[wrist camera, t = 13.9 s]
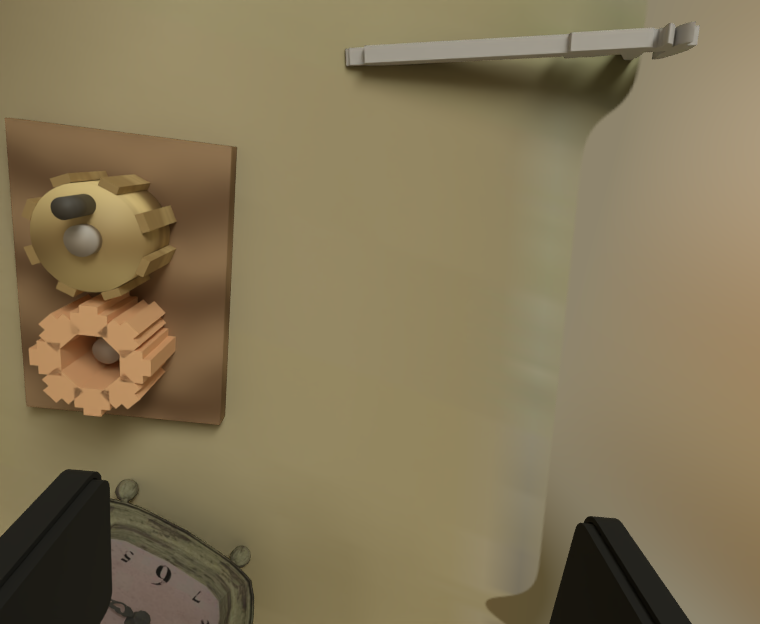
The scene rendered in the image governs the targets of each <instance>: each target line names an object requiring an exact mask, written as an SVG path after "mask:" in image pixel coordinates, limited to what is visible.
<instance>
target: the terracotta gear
mask: <svg viewBox="0 0 760 624" xmlns="http://www.w3.org/2000/svg"><path fill="white" fill-rule="evenodd" d="M164 314H165V312H164V311H163V310H162V309H161V308H160V307H159V306H158V304H157V303H156V302H155V301H154V302H152V303H151V304H149V305H148V304H147V303H146V302H145V301H144V300H142V301H140V302H139V303H138V297H136V296H130V294H129V292H127V293H125V294H123V295H122V296H119V297H115V298H111V299H108V300H104V299H103V297H102V294H99V295H97V296H95V297H93V298H92V297H91V296H90V295H89V294H88V295H86V296H84V297H82V298H80V299H78V300H76V301H74V302H72V303H70V304H68V305H66V306H64V307H62V308H60V309H58V310H56V311H54V312H52V313H50V314H49V315H48V316H47V317H46V318H45V319H44V320H42V321H41V322H40V323H39V325H40V326H41V327H42V328H43V329H44V331H43V332H42V333H41V334H40V335H39V336H40V337H41V339H39V340H37V341H36V343H37V344H35V345H34V346H32V347H30V348H29V361H30V365H36V366H38V371H39V374H46V375H47V376H45V377H44V378H43V379H42V380H43V381H44V382H45V383H46V384H47V385H48V387H47V388H45V389H44V390H43V391H44V392H45V393H46V394H47V395H49V396H50V397H51V398H52V399H53V400H54V401H55V402H56V403H57V402H58V401H59V400H60V399H63V400H64V401H65V402H66V403H67V404H69V403H71V402H72V401H73V400H74V404H75V407H78V408H83V409H84V415H90V416H102V415H103V414H104V413H105V412H106V411H107V410H111V409H112V408H113V407H115V408H117V407H119V406H120V405H121V404H123V405H124V406H125V407H126V408H127V409H129V408H130V407H131V406H132V405H134V404H135V403H136V402H137V401H139V400H140V399H141V398H142V397H143V396H144V395H145V393H146V392H147V391H148V390H149V389H150V388H151V387H152V386H153V385H154V384H155V383H156V381H157V380H158V379H159V378H160V377H161V376H162V375H163V374H164V373H165V371H164V370H163V369H162V368H161V367H162V366H163V365H164V364H165V363H166V362H165V361H166V360H167V359H168V358H169V357H170V356H171V355H172V354H173V353H174V352H175V346H176V337H175V336H168V328H161V327H162V326H163V325H165V324H166V322H165V321H164V320H163V319H162V318H161V316H163V315H164ZM96 336H97V337H102V338H103V339H104V340H105V341H106V342H107V343H108V344H109V345H110V346H111V347H112V348H113V349H114V350H115V351H116V352H117V353H118V354H119V355H120V362H118V361H116V362H114V363H111V364H105V363H102V362H100V361H98V360H97V359H96V358H95V356H94V355H93V351H92V347H93V344H94V343H95V342H96Z"/></svg>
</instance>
